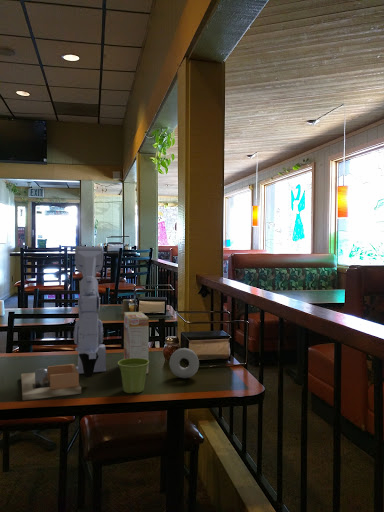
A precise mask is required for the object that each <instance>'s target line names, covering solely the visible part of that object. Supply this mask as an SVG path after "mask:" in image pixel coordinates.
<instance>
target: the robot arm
mask: <svg viewBox="0 0 384 512" xmlns="http://www.w3.org/2000/svg"><path fill="white" fill-rule="evenodd" d="M74 249H75V251H74V262H75V267H76V270H77V271H79V272H81V275H82V279H81V280H80V282H79V297H78V301H77V311H78V320H76V321H75V324H74V330H73V332H74V333H73V334H74V335H73V342H74V344H75V345H77V347H76V348H74V350H75V352H77V366H75V367H76V369H77V370H78V372H79V375H80V374H83V375H84V378H85V379H88V378H93V374H94V373H99V372H106V371H107V369H106V368H107V367H106V365H107V364H106V363H107V355H106V354H107V353H106V352H107V351H106V350H107V349H106V345H105V344H103V342H104V327H103V324H104V323H103V322H102V320H101V319H99V314H100V312H101V311H100V310H101V308H100V307H101V305H100V303H101V301H100V300H101V297H100V294H99V293H100V292H99V281H98V279H97V278H96V276H97V273H98V272H100V271H102V269H103V266H104V265H103V264H104V247H103V246H102V245H100V246H91V245H90V246H87V245H85V246H83V245H82V246H81V245H80V246H79V245H76V246H75V248H74ZM97 310H98V312H97Z"/></svg>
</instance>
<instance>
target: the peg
mask: <svg viewBox="0 0 384 512" xmlns="http://www.w3.org/2000/svg"><path fill="white" fill-rule="evenodd" d="M34 373H35V389H36V388H45V387H48V367H40V368H36V369H34Z"/></svg>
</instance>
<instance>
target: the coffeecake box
mask: <svg viewBox="0 0 384 512" xmlns="http://www.w3.org/2000/svg"><path fill="white" fill-rule="evenodd" d="M149 323H150V322H149V317H148V316H147V315H145V313H143V312H142V311H124V312H123V359H129V358H143V359H147V360H149V329H150V327H149ZM147 374H149V365H148V366H147V369H146V375H147Z"/></svg>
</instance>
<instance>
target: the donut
mask: <svg viewBox="0 0 384 512" xmlns="http://www.w3.org/2000/svg"><path fill="white" fill-rule="evenodd" d="M182 359H186V360H187V361H188V366H187V367H183V366H181V364H180V361H181V360H182ZM199 366H200V361H199V358H198V355H197V354H196V353H195V352H194V350H192V349H190V348H187V347H183V348H178V349H176V350H175V351H173V353H171V355H170V358H169V369H170V370H171V373H173V375H175V376H176V377H178V378H180V379H187V378H188V379H189V378H191V377H193V376H194V375H195V374H196V373H197V372H198V370H199Z"/></svg>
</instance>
